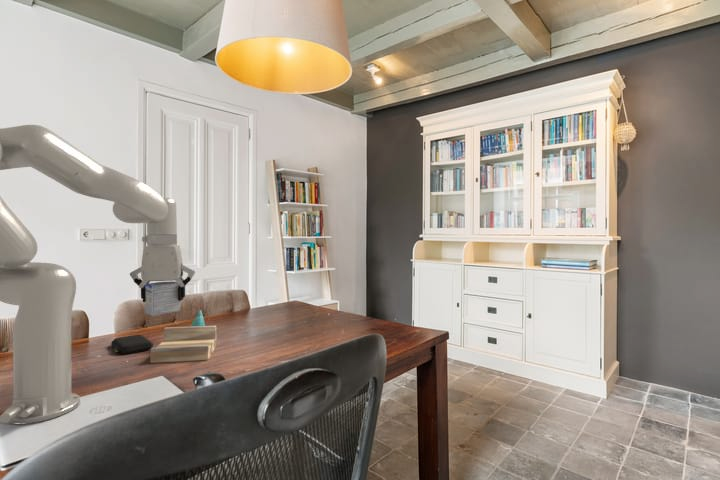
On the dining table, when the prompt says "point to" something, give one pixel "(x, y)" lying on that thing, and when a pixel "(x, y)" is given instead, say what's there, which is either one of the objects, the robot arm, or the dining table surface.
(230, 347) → the dining table surface
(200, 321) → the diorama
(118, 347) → the carrying case or bag
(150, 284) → the medicine box
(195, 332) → the stepped wooden block
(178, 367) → the dining table surface
